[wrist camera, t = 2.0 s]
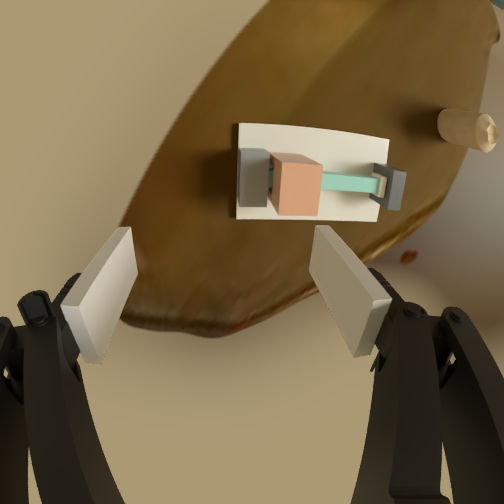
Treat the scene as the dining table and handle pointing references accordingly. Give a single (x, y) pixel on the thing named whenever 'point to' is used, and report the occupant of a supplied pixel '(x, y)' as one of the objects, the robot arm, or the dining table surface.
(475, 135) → the candle
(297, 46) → the dining table surface
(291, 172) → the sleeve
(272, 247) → the dining table surface
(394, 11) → the dining table surface
